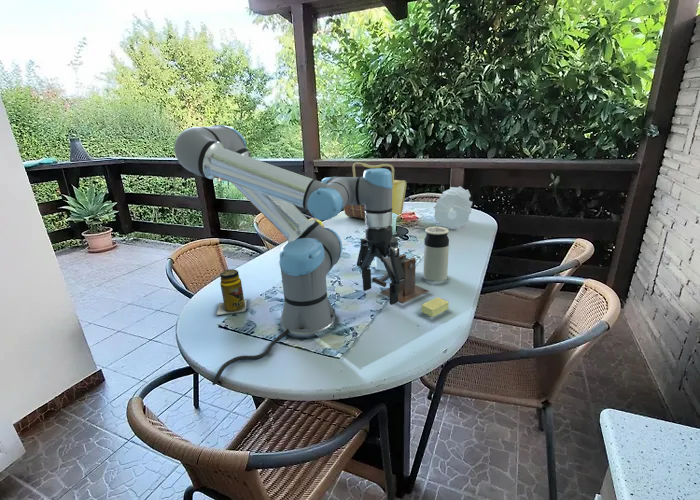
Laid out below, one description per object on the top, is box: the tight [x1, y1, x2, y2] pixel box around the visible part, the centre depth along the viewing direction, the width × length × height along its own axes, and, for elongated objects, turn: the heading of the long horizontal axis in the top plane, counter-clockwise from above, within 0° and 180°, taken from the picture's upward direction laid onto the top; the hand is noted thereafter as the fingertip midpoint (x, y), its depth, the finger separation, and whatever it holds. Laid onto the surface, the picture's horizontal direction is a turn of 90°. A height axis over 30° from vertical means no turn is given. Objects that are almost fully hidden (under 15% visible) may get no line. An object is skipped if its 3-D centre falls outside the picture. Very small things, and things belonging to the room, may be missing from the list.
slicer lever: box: [371, 256, 409, 288], centre depth 110 cm, size 13×5×2 cm, turn 128°
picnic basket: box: [343, 162, 407, 220], centre depth 202 cm, size 29×26×30 cm
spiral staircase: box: [433, 185, 474, 230], centre depth 185 cm, size 18×18×25 cm
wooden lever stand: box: [379, 253, 430, 305], centre depth 114 cm, size 12×10×13 cm
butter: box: [420, 296, 450, 318], centre depth 104 cm, size 7×4×4 cm, turn 128°
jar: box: [374, 235, 399, 272], centre depth 134 cm, size 9×8×12 cm
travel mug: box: [422, 226, 450, 283], centre depth 123 cm, size 8×8×18 cm
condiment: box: [216, 268, 247, 316], centre depth 111 cm, size 7×8×12 cm
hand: (380, 295), depth 109 cm, fingers open, 11 cm apart
